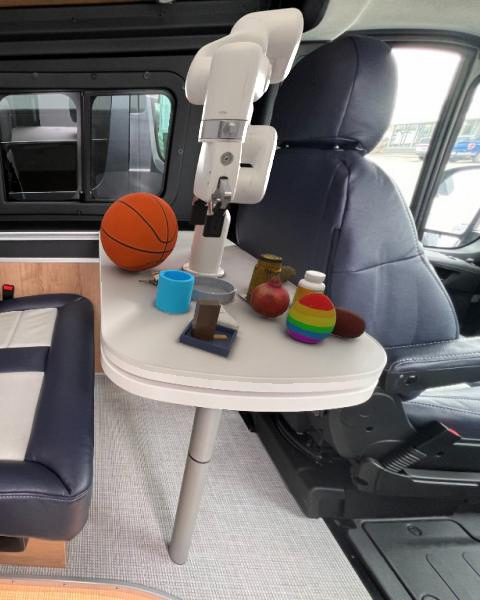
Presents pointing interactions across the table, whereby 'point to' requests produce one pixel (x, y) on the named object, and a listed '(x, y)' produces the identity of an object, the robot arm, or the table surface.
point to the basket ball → (139, 231)
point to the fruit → (270, 299)
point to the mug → (174, 291)
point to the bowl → (212, 289)
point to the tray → (211, 346)
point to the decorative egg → (311, 318)
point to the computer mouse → (155, 278)
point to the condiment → (263, 272)
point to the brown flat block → (206, 320)
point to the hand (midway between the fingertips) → (203, 230)
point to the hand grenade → (286, 273)
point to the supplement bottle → (309, 285)
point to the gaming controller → (226, 319)
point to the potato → (348, 324)
